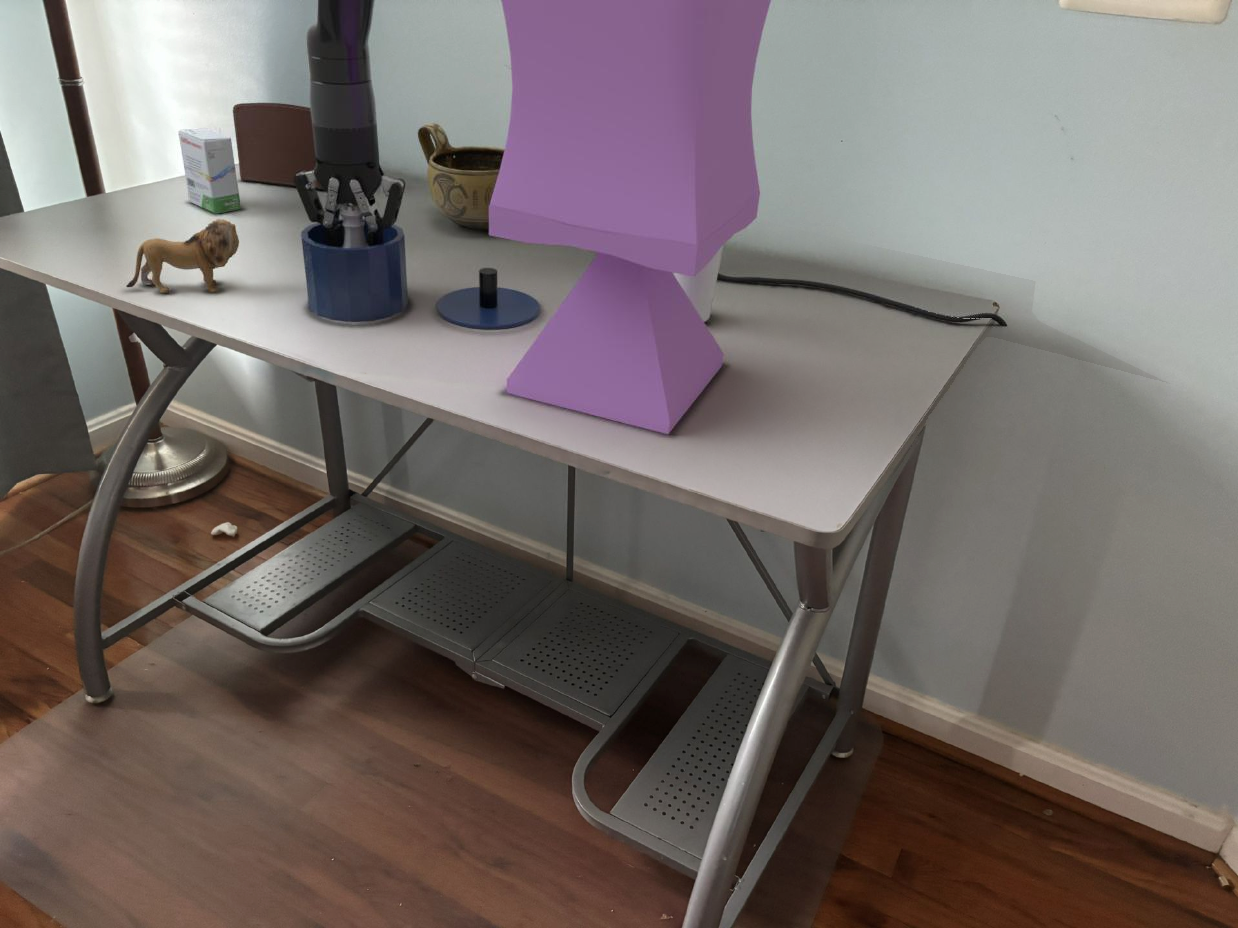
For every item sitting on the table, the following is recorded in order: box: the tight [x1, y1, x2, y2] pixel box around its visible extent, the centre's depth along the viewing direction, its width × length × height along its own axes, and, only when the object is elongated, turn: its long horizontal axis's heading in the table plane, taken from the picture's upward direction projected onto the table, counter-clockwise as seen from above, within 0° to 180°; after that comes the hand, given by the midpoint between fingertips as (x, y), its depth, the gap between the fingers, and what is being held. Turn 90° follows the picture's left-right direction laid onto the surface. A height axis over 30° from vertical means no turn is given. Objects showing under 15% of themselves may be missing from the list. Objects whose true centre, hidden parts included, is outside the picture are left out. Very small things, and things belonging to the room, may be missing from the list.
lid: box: [436, 267, 540, 330], centre depth 127 cm, size 14×14×6 cm
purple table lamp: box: [488, 0, 772, 435], centre depth 102 cm, size 22×22×45 cm
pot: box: [300, 217, 409, 323], centre depth 125 cm, size 13×13×10 cm
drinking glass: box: [672, 244, 725, 323], centre depth 128 cm, size 7×7×15 cm
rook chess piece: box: [339, 203, 369, 248], centre depth 122 cm, size 4×4×8 cm
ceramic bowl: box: [417, 122, 505, 230], centre depth 157 cm, size 22×17×15 cm
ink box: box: [177, 127, 242, 215], centre depth 157 cm, size 8×5×12 cm, turn 48°
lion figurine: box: [125, 218, 240, 294], centre depth 127 cm, size 15×5×9 cm, turn 110°
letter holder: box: [232, 102, 325, 191], centre depth 172 cm, size 10×20×14 cm, turn 81°
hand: (356, 255), depth 124 cm, fingers closed on rook chess piece, 4 cm apart
